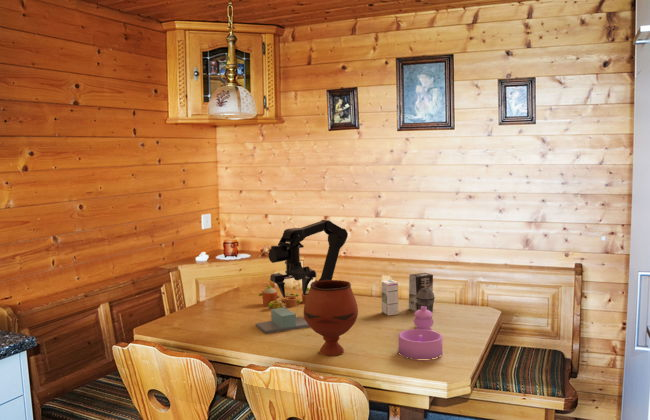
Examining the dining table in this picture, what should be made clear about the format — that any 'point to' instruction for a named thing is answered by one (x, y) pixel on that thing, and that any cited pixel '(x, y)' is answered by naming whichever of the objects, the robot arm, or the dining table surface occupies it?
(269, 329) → the plate
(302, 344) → the dining table surface
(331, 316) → the goblet
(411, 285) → the coffee box
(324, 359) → the dining table surface
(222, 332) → the dining table surface
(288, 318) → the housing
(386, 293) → the syrup box
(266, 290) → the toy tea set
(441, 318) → the dining table surface
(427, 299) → the beverage cup
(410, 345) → the container set
